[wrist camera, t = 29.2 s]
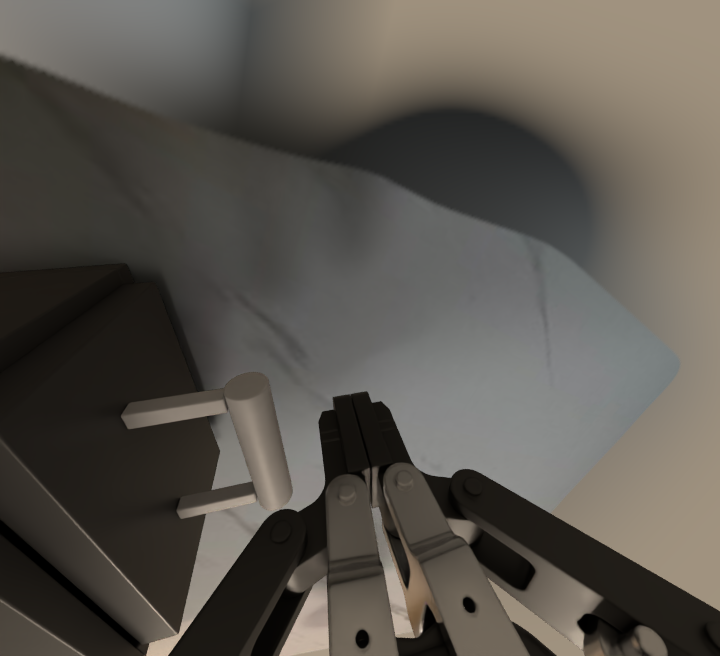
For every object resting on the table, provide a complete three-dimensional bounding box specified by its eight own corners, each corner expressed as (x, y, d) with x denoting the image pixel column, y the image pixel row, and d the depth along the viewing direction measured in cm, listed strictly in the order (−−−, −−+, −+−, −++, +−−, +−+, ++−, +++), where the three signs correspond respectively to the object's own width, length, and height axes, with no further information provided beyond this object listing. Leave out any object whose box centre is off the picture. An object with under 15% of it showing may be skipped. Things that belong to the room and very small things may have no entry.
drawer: (264, 271, 13) (243, 387, 6) (295, 436, 18) (302, 598, 11) (-266, 317, 10) (-1546, 666, 3) (-44, 501, 15) (-319, 781, 8)
